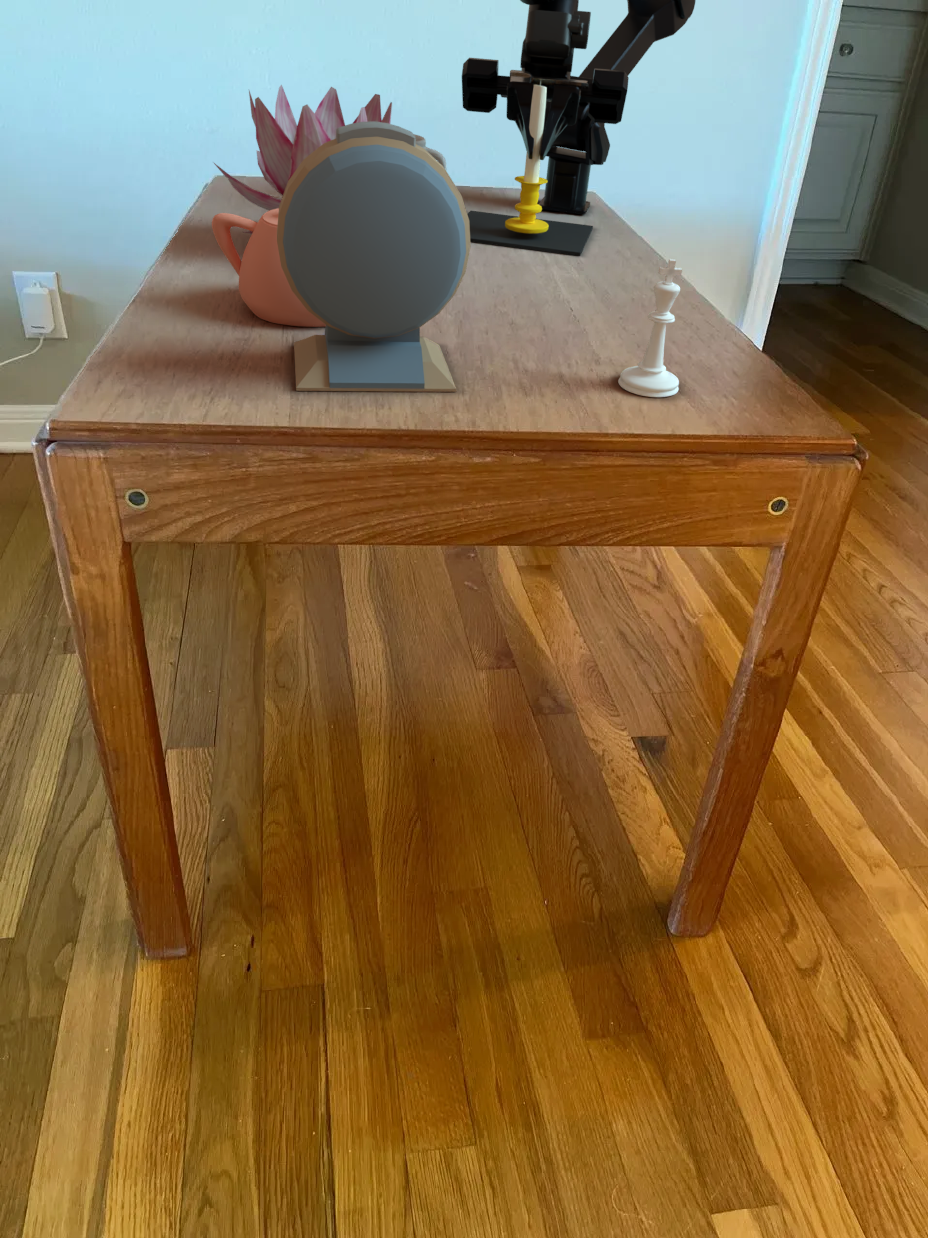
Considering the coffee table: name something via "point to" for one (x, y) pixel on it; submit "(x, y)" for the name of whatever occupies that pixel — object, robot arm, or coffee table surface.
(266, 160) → the decorative flower
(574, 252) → the mat
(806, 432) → the coffee table surface
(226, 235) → the teapot
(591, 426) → the coffee table surface
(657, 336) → the chess piece
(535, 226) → the candle
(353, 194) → the alarm clock
